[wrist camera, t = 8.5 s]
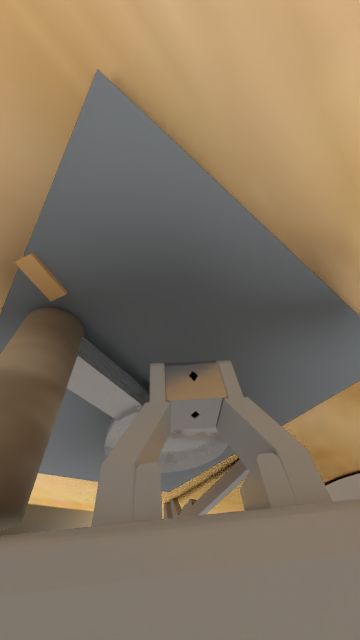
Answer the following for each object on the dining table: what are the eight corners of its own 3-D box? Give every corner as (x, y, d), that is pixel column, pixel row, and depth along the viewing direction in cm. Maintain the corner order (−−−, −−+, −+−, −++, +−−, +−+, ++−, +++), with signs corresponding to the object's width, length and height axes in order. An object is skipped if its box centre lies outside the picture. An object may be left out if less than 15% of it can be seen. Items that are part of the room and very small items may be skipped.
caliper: (169, 502, 36) (172, 559, 31) (163, 501, 36) (165, 559, 31) (266, 443, 27) (292, 513, 22) (260, 441, 26) (284, 512, 22)
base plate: (378, 335, 17) (404, 358, 15) (167, 472, 29) (169, 494, 27) (103, 77, 8) (90, 61, 6) (-43, 432, 19) (-62, 461, 18)
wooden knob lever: (238, 422, 18) (276, 547, 13) (151, 454, 20) (151, 575, 15) (103, 266, 9) (35, 447, 4) (-28, 348, 11) (-196, 548, 6)
